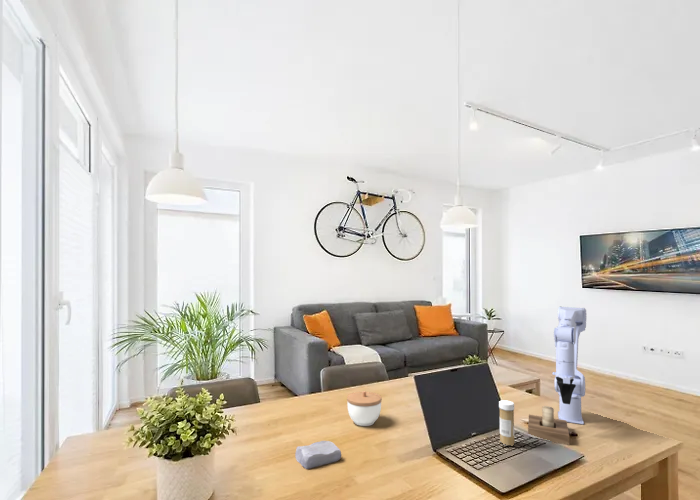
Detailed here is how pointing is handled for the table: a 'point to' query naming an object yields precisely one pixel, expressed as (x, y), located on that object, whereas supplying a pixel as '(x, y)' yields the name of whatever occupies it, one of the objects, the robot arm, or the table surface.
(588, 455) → the table surface
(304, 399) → the table surface
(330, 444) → the stone block
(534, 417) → the socket block
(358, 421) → the lidded bowl
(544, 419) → the dowel
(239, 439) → the table surface
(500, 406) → the sprinkles bottle
